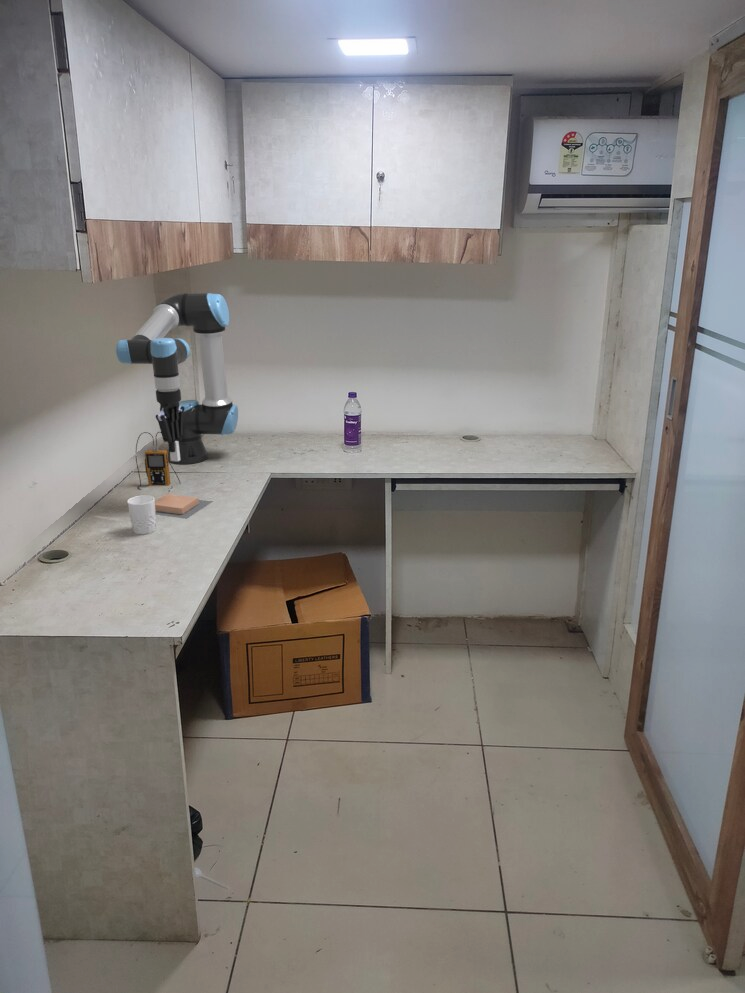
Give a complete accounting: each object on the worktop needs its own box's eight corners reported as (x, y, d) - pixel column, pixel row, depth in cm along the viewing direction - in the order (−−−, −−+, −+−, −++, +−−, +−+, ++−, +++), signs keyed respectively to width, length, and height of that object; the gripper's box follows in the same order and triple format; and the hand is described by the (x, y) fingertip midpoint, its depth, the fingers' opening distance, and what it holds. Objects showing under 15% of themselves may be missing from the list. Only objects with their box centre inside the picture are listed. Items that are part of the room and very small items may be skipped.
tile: (167, 494, 240) (149, 504, 231) (198, 497, 237) (181, 508, 228) (167, 500, 241) (150, 510, 232) (199, 504, 238) (182, 515, 229)
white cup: (127, 529, 219) (123, 499, 216) (151, 523, 224) (148, 493, 220) (137, 537, 213) (133, 506, 210) (162, 531, 218) (158, 500, 215)
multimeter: (131, 494, 249) (124, 438, 242) (141, 484, 258) (134, 430, 251) (173, 494, 248) (167, 439, 241) (181, 484, 258) (176, 431, 251)
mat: (166, 497, 246) (166, 495, 245) (212, 503, 240) (212, 501, 240) (138, 513, 231) (138, 512, 231) (187, 520, 226) (186, 518, 226)
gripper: (169, 383, 231) (176, 453, 239) (145, 392, 219) (154, 465, 228) (189, 385, 228) (196, 455, 237) (166, 394, 217) (174, 467, 226)
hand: (175, 460), depth 232 cm, fingers closed
